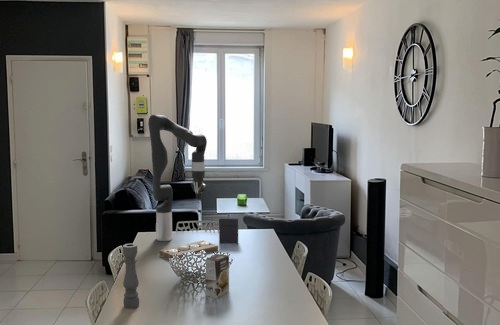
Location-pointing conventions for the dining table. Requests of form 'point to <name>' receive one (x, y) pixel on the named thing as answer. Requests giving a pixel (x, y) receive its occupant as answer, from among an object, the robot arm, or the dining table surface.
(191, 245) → the button three dots
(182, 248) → the button blank
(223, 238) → the dark brown box
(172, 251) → the button two dots
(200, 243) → the button one dot
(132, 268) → the candle holder
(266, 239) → the dining table surface
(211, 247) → the brown flat block
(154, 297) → the dining table surface
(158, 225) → the robot arm
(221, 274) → the coffee box
